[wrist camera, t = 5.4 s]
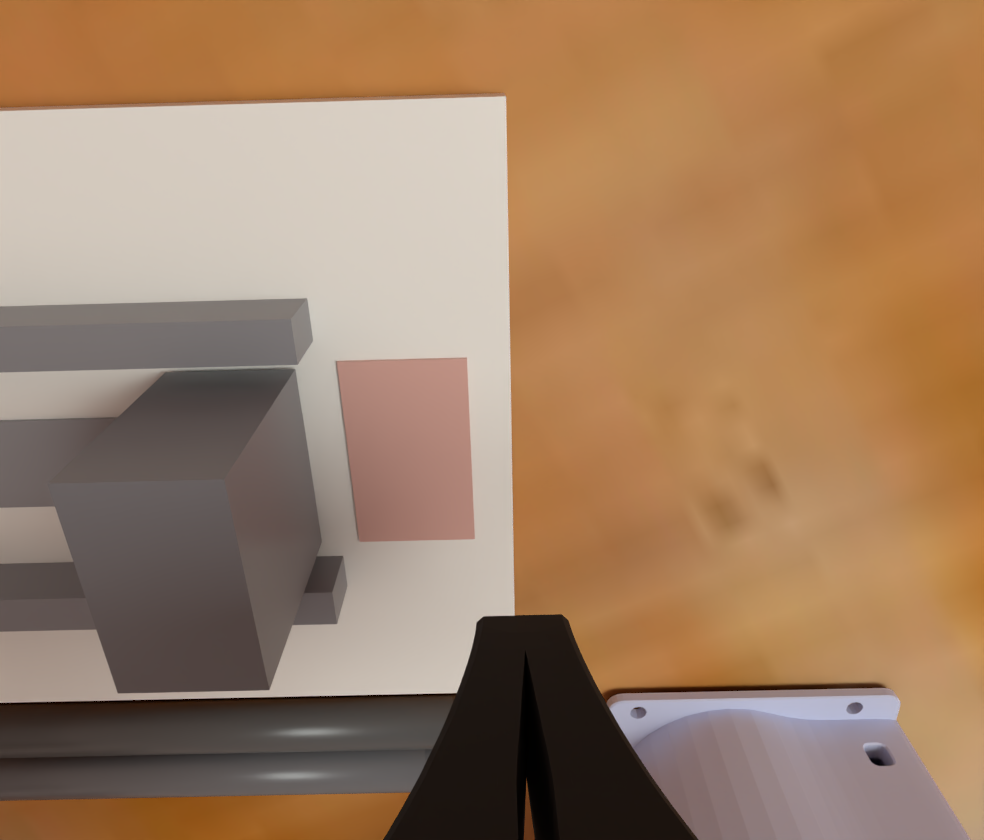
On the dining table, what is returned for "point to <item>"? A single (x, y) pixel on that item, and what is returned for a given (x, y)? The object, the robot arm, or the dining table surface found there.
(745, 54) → the dining table surface
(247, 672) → the switch knob
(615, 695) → the robot arm
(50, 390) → the white board with rails
